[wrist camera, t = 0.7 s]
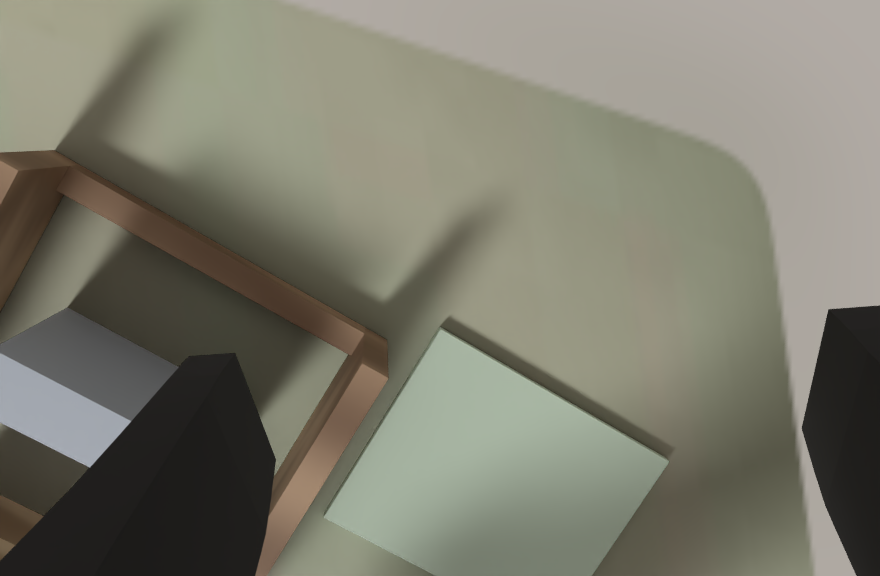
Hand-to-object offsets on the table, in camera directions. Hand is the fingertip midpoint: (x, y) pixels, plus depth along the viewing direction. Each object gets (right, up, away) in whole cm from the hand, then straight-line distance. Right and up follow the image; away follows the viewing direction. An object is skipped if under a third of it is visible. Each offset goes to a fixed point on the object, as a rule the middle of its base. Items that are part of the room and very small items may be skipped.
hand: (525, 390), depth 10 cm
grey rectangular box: (-12, -2, +21) cm, 24 cm away
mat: (+1, -7, +22) cm, 23 cm away
